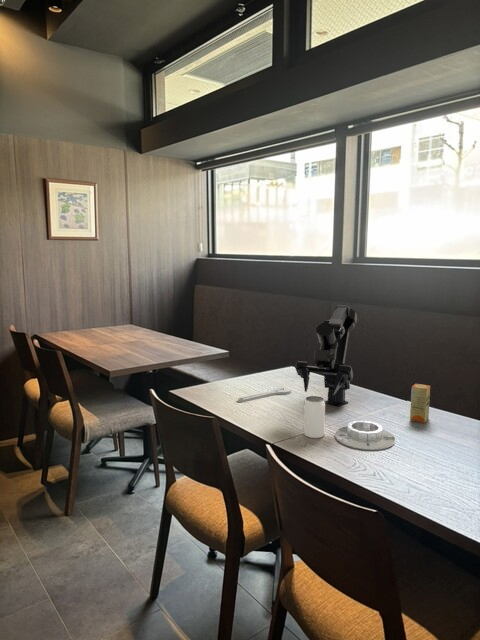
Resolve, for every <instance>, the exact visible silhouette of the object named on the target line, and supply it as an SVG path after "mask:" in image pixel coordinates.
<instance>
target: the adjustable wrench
mask: <svg viewBox="0 0 480 640" xmlns="http://www.w3.org/2000/svg"><path fill="white" fill-rule="evenodd" d="M291 393H292V389H291V388H288V389H286V390H285V387H277V388H273V390H271V391H266V392H262V393H257V394H252V395H247V396H243V397H242V396H241V397H238V398H237V402H238V403H246V402H249V401H256V400H259V399H264V398H268V397H273V396H281V395H282V396H283V395H284V396H285V395H290V394H291Z"/></svg>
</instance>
